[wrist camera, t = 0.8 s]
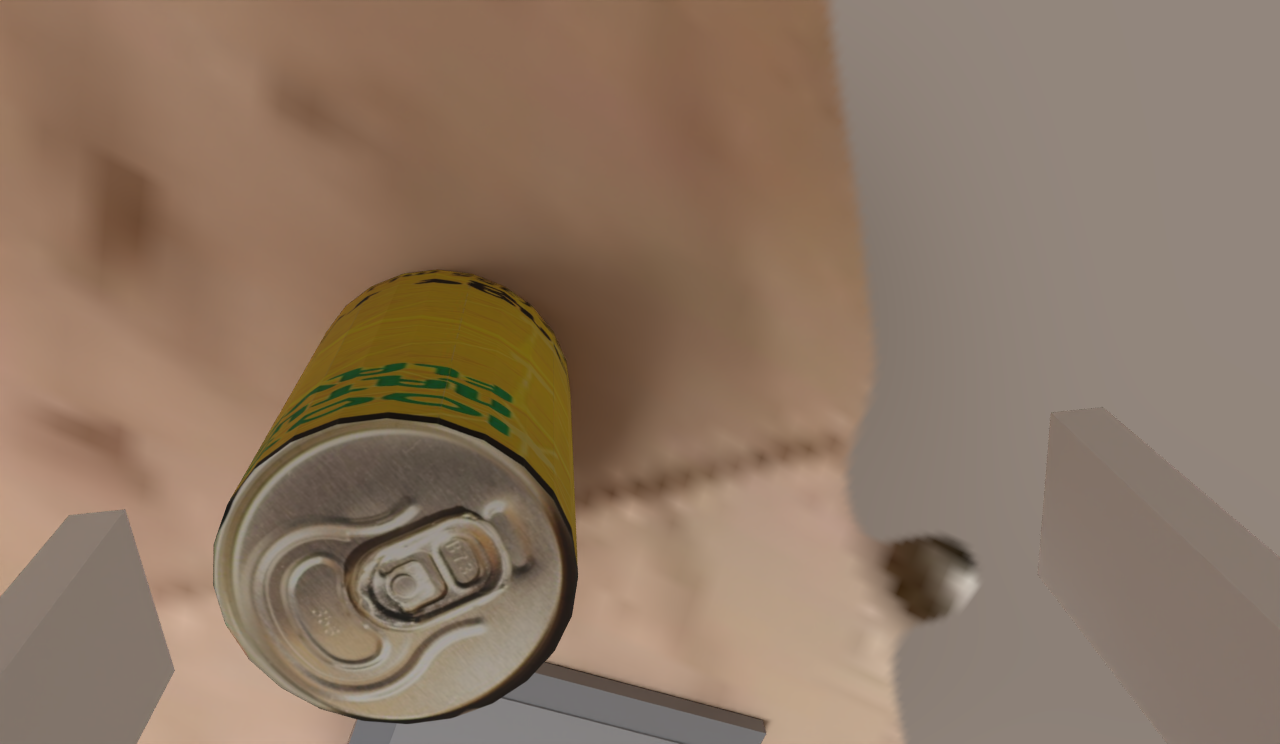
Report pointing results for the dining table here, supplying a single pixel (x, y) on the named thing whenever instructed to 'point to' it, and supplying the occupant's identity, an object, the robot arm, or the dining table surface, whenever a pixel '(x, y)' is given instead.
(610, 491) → the dining table surface
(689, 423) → the dining table surface
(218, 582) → the beverage can
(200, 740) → the dining table surface
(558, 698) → the plate
